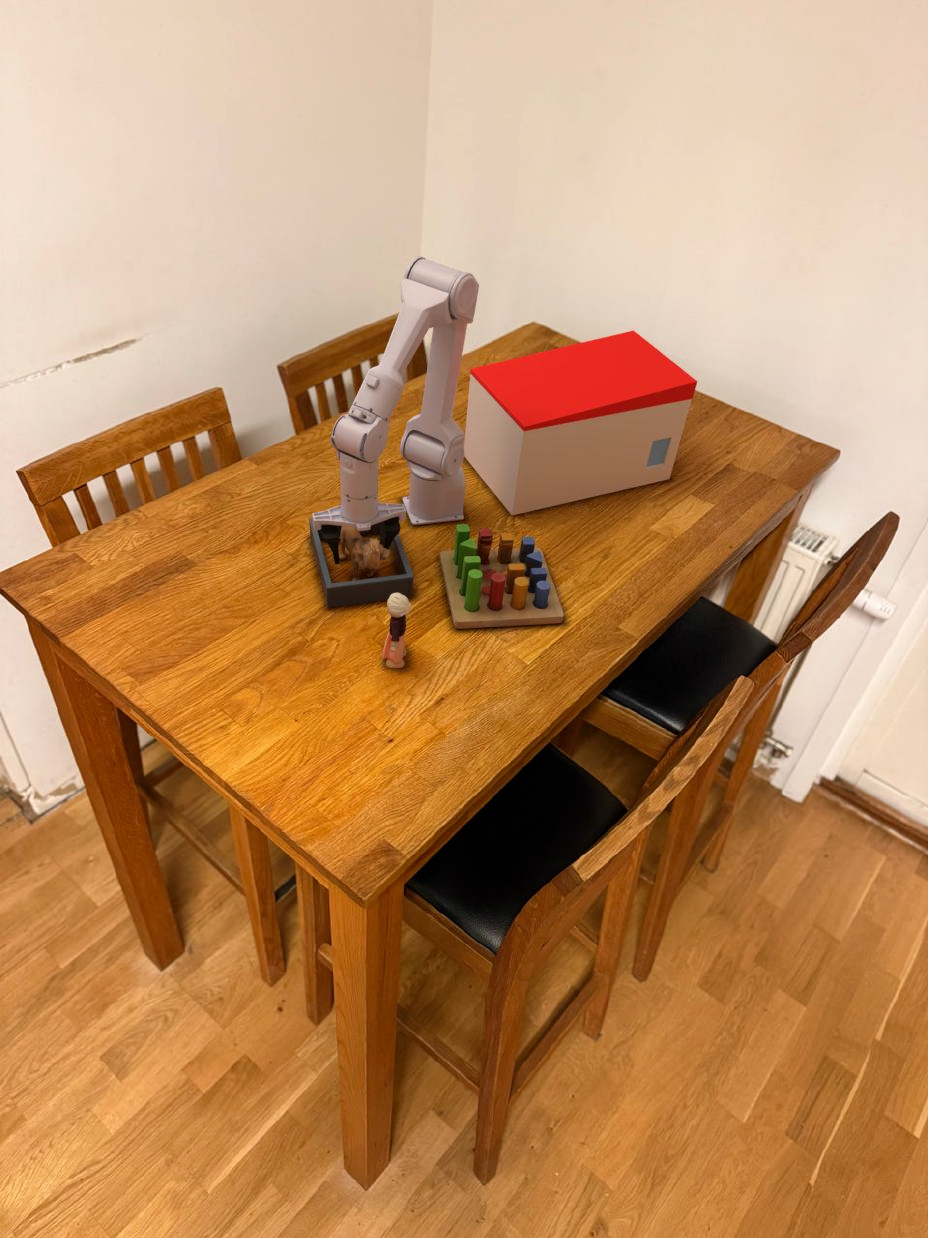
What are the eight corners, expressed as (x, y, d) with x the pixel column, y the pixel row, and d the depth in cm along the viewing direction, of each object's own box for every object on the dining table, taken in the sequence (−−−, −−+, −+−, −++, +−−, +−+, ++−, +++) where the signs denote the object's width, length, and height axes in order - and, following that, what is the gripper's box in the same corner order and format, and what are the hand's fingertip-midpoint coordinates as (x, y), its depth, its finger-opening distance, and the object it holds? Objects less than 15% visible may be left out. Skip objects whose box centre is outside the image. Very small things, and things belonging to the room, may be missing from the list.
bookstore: (671, 478, 172) (698, 381, 157) (512, 515, 159) (526, 412, 145) (613, 424, 185) (634, 330, 170) (462, 454, 172) (471, 355, 158)
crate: (389, 529, 153) (389, 510, 151) (413, 596, 141) (413, 576, 138) (310, 538, 150) (308, 518, 147) (327, 608, 138) (326, 588, 135)
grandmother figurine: (382, 641, 133) (383, 578, 125) (407, 641, 134) (410, 578, 125) (382, 679, 128) (383, 615, 119) (409, 679, 128) (412, 615, 120)
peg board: (563, 624, 139) (572, 583, 133) (454, 630, 136) (458, 588, 131) (539, 553, 152) (546, 513, 146) (439, 558, 149) (441, 517, 143)
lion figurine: (392, 586, 143) (394, 542, 137) (363, 597, 140) (363, 553, 134) (350, 536, 151) (349, 493, 145) (322, 545, 149) (320, 501, 143)
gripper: (316, 508, 130) (319, 578, 140) (411, 498, 134) (408, 567, 143) (308, 481, 135) (312, 550, 145) (401, 472, 139) (399, 540, 148)
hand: (359, 557), depth 144 cm, fingers open, 7 cm apart
